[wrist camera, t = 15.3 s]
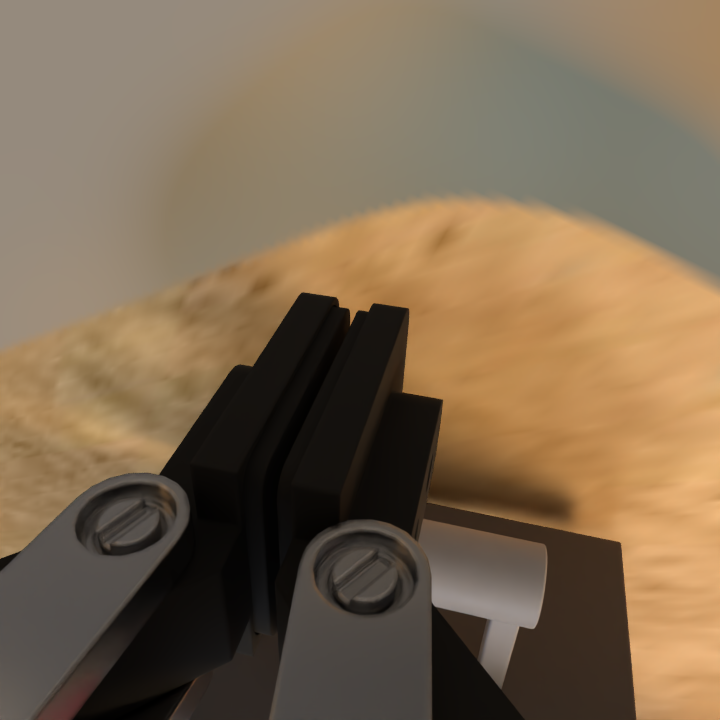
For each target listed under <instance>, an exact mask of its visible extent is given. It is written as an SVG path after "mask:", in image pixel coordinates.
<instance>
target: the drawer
mask: <svg viewBox="0 0 720 720" xmlns="http://www.w3.org/2000/svg"><path fill="white" fill-rule="evenodd" d="M418 543H419V544H420V546H421V547H422V549H423V551H424V552H425V554H426V556H427V557H428V560H429V565H430V570H431V575H432V603H433V605H434V606H435V607H436V608H437V610H438V611H439V612H440V613H441V615H442V616H443V617H444V618H445V620H446V621H447V622H448V623H449V625H450V626H451V627H452V628H453V630H454V631H455V632H456V634H457V635H458V636H459V637H460V639H461V640H462V641H463V642H464V644H465V645H466V646H467V647H468V649H469V650H470V651H471V652H472V654H473V655H474V656H475V657H476V659H477V660H478V661H479V662H480V664H481V665H482V666H483V667H484V669H485V670H486V671H487V673H488V674H489V675H490V676H491V678H492V679H493V680H494V681H495V683H496V684H497V685H498V686H499V688H500V689H501V690H502V691H503V693H504V694H505V695H506V696H507V698H508V699H509V700H510V701H511V703H512V704H513V705H514V706H515V708H516V709H517V710H518V712H519V713H520V714H521V715H522V717H523V718H524V719H525V720H636V710H635V698H634V687H633V676H632V664H631V653H630V641H629V630H628V618H627V607H626V596H625V584H624V573H623V561H622V550H621V543H620V542H616V541H611V540H606V539H601V538H596V537H591V536H587V535H582V534H577V533H572V532H567V531H562V530H557V529H552V528H548V527H543V526H538V525H533V524H528V523H523V522H518V521H513V520H509V519H504V518H499V517H494V516H489V515H484V514H479V513H474V512H469V511H465V510H460V509H455V508H450V507H445V506H440V505H435V504H430V503H426V507H425V512H424V517H423V522H422V526H421V531H420V536H419V540H418ZM278 671H279V652H278V633H277V631H276V633H275V635H273V636H269V635H265V634H262V636H261V639H260V641H259V644H258V646H257V649H256V651H255V654H254V656H253V657H252V656H248V655H244V654H240V653H236V652H235V655H234V657H233V659H232V661H230V662H228V663H226V664H224V665H222V666H220V667H218V668H216V669H214V670H213V677H212V679H211V681H210V684H209V686H208V688H207V691H206V693H205V694H204V696H203V697H202V699H201V701H200V702H199V704H198V706H197V707H196V709H195V710H194V712H193V714H192V715H191V717H190V719H189V720H269V717H270V712H271V707H272V702H273V697H274V691H275V686H276V681H277V676H278Z"/></svg>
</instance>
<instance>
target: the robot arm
mask: <svg viewBox="0 0 720 720" xmlns="http://www.w3.org/2000/svg"><path fill="white" fill-rule="evenodd" d="M408 325H409V309H408V308H402V307H395V306H389V305H382V304H376V303H374V304H373V305H372V306H371V308H370V310H369V312H366V311H360V310H359V311H358V312H357V313H356V315H355V318H354V320H353V322H352V324H351V326H350V311H349V309H347V308H341V307H339V301H338V299H337V298H336V297H330V296H323V295H316V294H310V293H301V294H300V295H299V296H298V298H297V299H296V301H295V302H294V304H293V306H292V307H291V309H290V310H289V312H288V313H287V315H286V316H285V318H284V319H283V321H282V322H281V324H280V326H279V327H278V329H277V330H276V332H275V333H274V335H273V336H272V338H271V339H270V341H269V342H268V344H267V346H266V347H265V349H264V350H263V352H262V353H261V355H260V356H259V358H258V359H257V361H256V362H255V364H254V366H253V367H252V366H246V365H237V366H235V367H234V368H233V369H232V370H231V371H230V373H229V374H228V376H227V377H226V379H225V380H224V381H223V383H222V384H221V386H220V387H219V389H218V390H217V392H216V393H215V394H214V396H213V397H212V399H211V400H210V402H209V403H208V405H207V406H206V408H205V409H204V410H203V412H202V413H201V415H200V416H199V418H198V419H197V421H196V422H195V423H194V425H193V426H192V428H191V429H190V431H189V432H188V434H187V435H186V436H185V438H184V439H183V441H182V442H181V444H180V445H179V447H178V448H177V449H176V451H175V452H174V454H173V455H172V457H171V458H170V460H169V461H168V462H167V464H166V465H165V467H164V468H163V470H162V471H161V473H160V474H159V475H156V474H151V473H128V474H124V475H120V476H116V477H112V478H109V479H107V480H104V481H102V482H100V483H98V484H96V485H94V486H92V487H90V488H89V489H88V490H86V491H85V492H84V493H82V494H81V495H80V496H78V497H77V498H76V499H75V500H74V501H73V502H72V503H71V504H70V505H69V506H68V507H67V508H66V509H65V510H64V511H63V512H62V513H61V514H59V515H58V516H57V517H56V518H55V519H54V520H53V521H52V522H51V523H50V524H49V525H48V526H47V527H46V528H45V529H44V530H43V531H42V532H41V533H40V534H39V535H38V536H37V537H36V538H35V539H34V540H33V541H31V542H30V543H29V544H28V545H27V546H26V547H25V548H24V549H23V550H22V551H20V552H17V553H15V554H12V555H9V556H6V557H4V558H1V559H0V720H189V719H190V717H191V715H192V714H193V712H194V710H195V709H196V707H197V706H198V704H199V702H200V701H201V699H202V697H203V696H204V694H205V693H206V691H207V688H208V686H209V684H210V681H211V679H212V677H213V670H214V669H216V668H218V667H220V666H222V665H224V664H226V663H228V662H230V661H232V659H233V657H234V655H235V652H236V653H240V654H244V655H248V656H252V657H253V656H254V654H255V651H256V649H257V646H258V644H259V641H260V639H261V636H262V634H265V635H269V636H273V635H275V633H276V631H277V633H278V652H279V671H278V676H277V681H276V686H275V691H274V697H273V702H272V707H271V712H270V717H269V720H525V719H524V718H523V717H522V715H521V714H520V713H519V712H518V710H517V709H516V708H515V706H514V705H513V704H512V703H511V701H510V700H509V699H508V698H507V696H506V695H505V694H504V693H503V691H502V690H501V689H500V688H499V686H498V685H497V684H496V683H495V681H494V680H493V679H492V678H491V676H490V675H489V674H488V673H487V671H486V670H485V669H484V667H483V666H482V665H481V664H480V662H479V661H478V660H477V659H476V657H475V656H474V655H473V654H472V652H471V651H470V650H469V649H468V647H467V646H466V645H465V644H464V642H463V641H462V640H461V639H460V637H459V636H458V635H457V634H456V632H455V631H454V630H453V628H452V627H451V626H450V625H449V623H448V622H447V621H446V620H445V618H444V617H443V616H442V615H441V613H440V612H439V611H438V610H437V608H436V607H435V606H434V605H433V603H432V575H431V570H430V565H429V560H428V557H427V556H426V554H425V552H424V551H423V549H422V547H421V546H420V544H419V543H418V540H419V536H420V531H421V526H422V522H423V517H424V512H425V507H426V503H427V498H428V493H429V488H430V483H431V478H432V473H433V467H434V461H435V455H436V449H437V442H438V436H439V428H440V421H441V414H442V405H443V400H441V399H435V398H430V397H424V396H418V395H412V394H407V393H402V389H403V379H404V368H405V357H406V347H407V336H408Z"/></svg>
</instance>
